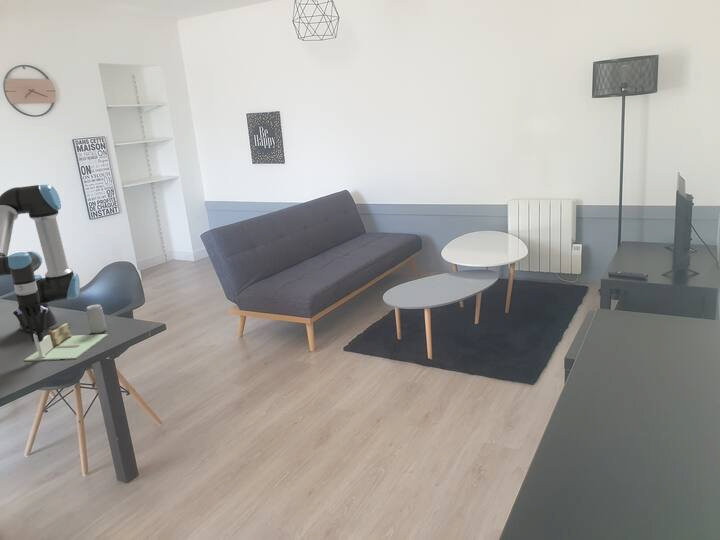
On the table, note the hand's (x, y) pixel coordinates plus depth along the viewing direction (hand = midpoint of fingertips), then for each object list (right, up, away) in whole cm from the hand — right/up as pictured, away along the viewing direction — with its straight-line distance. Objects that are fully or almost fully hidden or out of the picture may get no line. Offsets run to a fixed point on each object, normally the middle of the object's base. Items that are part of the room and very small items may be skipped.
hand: (39, 348), depth 223 cm
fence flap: (+1, -2, +3) cm, 4 cm away
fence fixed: (+1, 0, +14) cm, 14 cm away
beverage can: (+12, +4, +24) cm, 28 cm away
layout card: (+7, -1, +8) cm, 11 cm away
